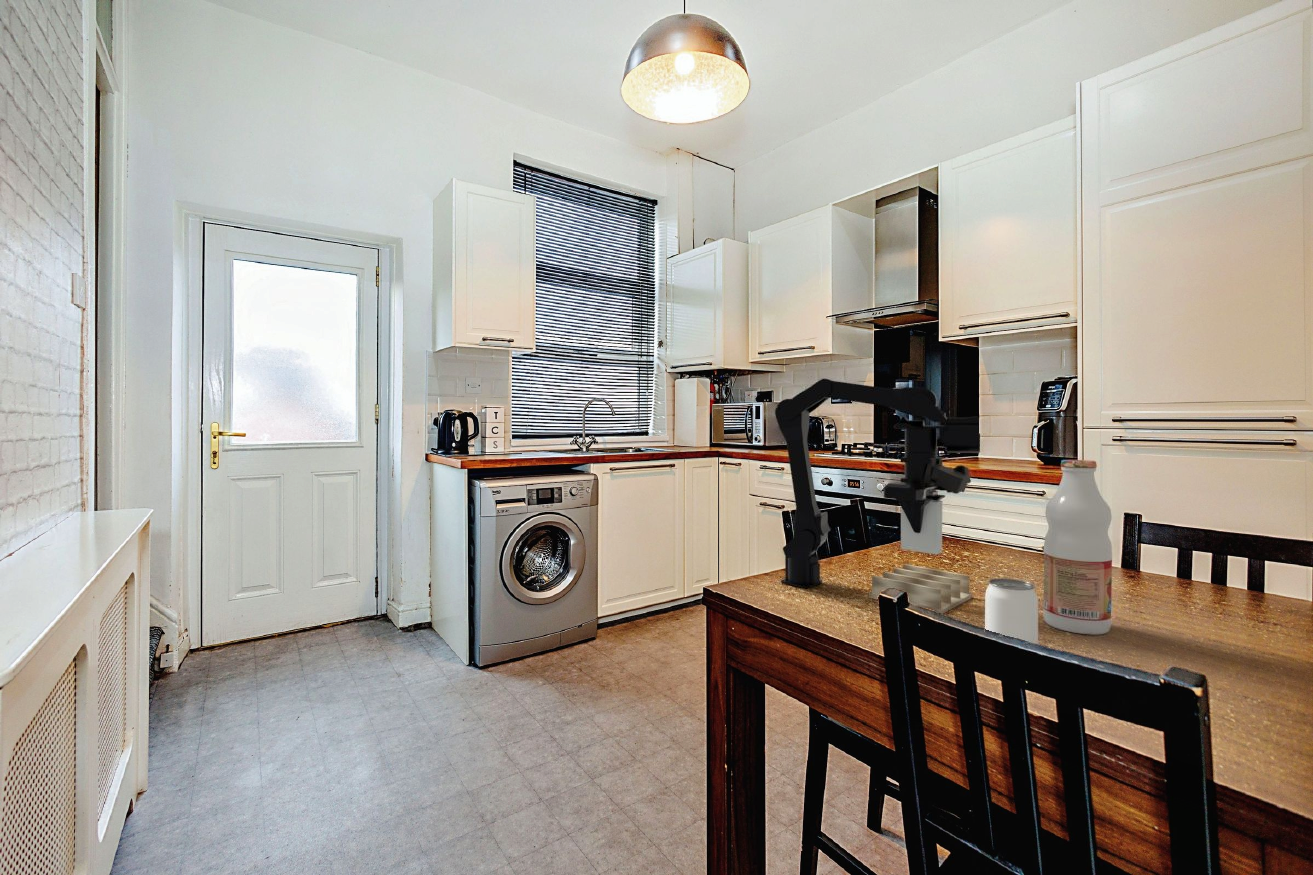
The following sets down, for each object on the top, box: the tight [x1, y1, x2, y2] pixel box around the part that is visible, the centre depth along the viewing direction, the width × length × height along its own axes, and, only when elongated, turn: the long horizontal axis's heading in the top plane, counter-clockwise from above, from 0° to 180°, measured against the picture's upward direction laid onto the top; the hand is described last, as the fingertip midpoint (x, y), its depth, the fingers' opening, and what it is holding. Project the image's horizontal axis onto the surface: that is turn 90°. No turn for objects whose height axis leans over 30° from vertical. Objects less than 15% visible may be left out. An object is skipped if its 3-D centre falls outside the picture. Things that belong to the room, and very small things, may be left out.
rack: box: [868, 563, 974, 615], centre depth 118 cm, size 14×14×4 cm
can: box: [984, 577, 1039, 645], centre depth 85 cm, size 6×6×12 cm
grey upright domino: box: [900, 500, 943, 555], centre depth 117 cm, size 7×2×10 cm, turn 42°
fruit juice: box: [1042, 459, 1113, 636], centre depth 101 cm, size 9×9×28 cm
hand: (920, 531), depth 117 cm, fingers closed on grey upright domino, 2 cm apart
